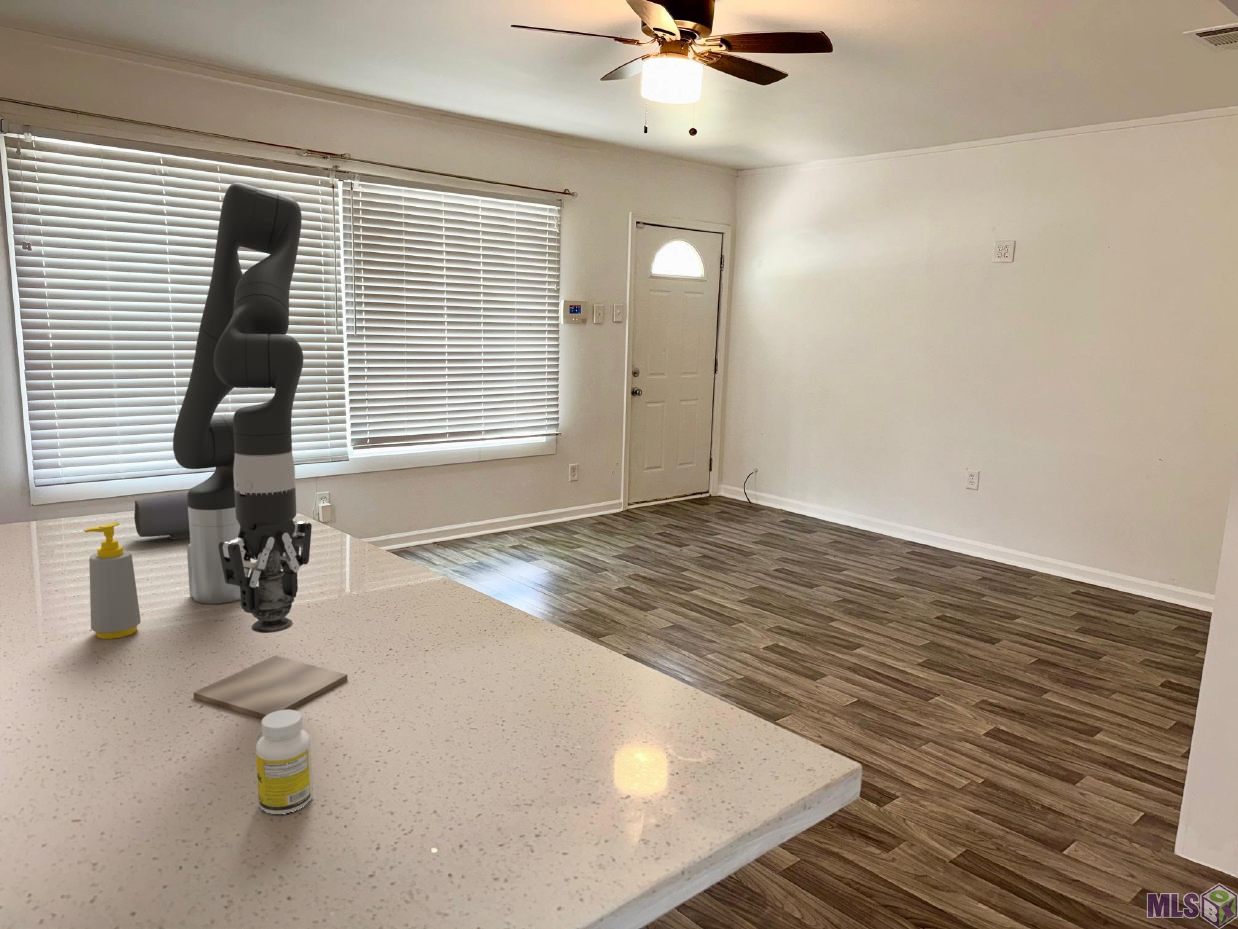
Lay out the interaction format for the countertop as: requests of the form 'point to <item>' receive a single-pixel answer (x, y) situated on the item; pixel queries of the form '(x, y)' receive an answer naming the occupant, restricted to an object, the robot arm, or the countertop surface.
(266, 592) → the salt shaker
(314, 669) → the walnut pad
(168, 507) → the bluetooth speaker
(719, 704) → the countertop surface
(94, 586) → the soap bottle
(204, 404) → the robot arm
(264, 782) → the supplement bottle
